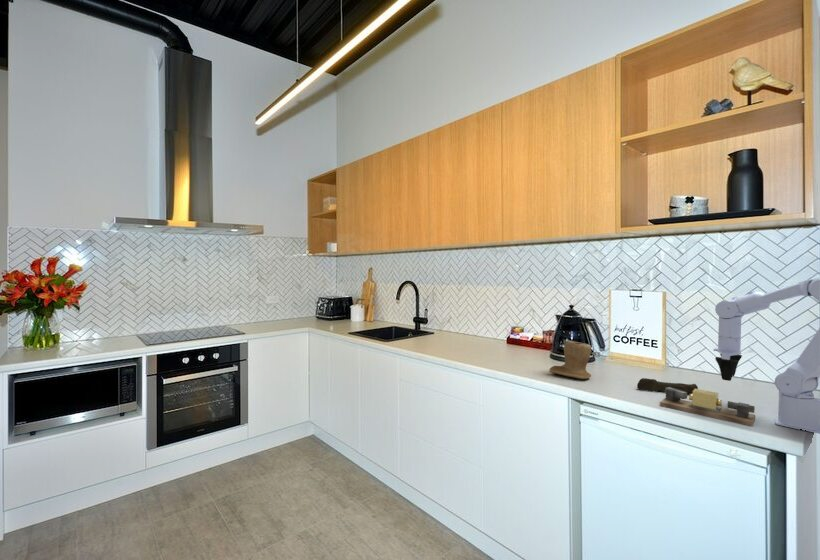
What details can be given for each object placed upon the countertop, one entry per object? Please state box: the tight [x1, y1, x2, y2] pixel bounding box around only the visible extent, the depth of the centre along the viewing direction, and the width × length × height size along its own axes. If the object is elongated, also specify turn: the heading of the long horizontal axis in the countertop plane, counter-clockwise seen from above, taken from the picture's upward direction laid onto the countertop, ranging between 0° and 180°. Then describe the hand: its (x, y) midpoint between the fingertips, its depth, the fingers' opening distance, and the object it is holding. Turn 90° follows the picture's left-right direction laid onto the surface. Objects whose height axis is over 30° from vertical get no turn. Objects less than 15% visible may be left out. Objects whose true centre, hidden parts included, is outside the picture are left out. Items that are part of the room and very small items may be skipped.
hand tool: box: [636, 377, 699, 395], centre depth 143 cm, size 19×4×5 cm, turn 70°
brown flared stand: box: [548, 340, 592, 380], centre depth 163 cm, size 15×12×15 cm
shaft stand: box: [659, 387, 756, 427], centre depth 123 cm, size 23×8×5 cm, turn 44°
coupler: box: [688, 388, 723, 410], centre depth 123 cm, size 8×4×4 cm, turn 44°
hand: (728, 377), depth 128 cm, fingers open, 7 cm apart
